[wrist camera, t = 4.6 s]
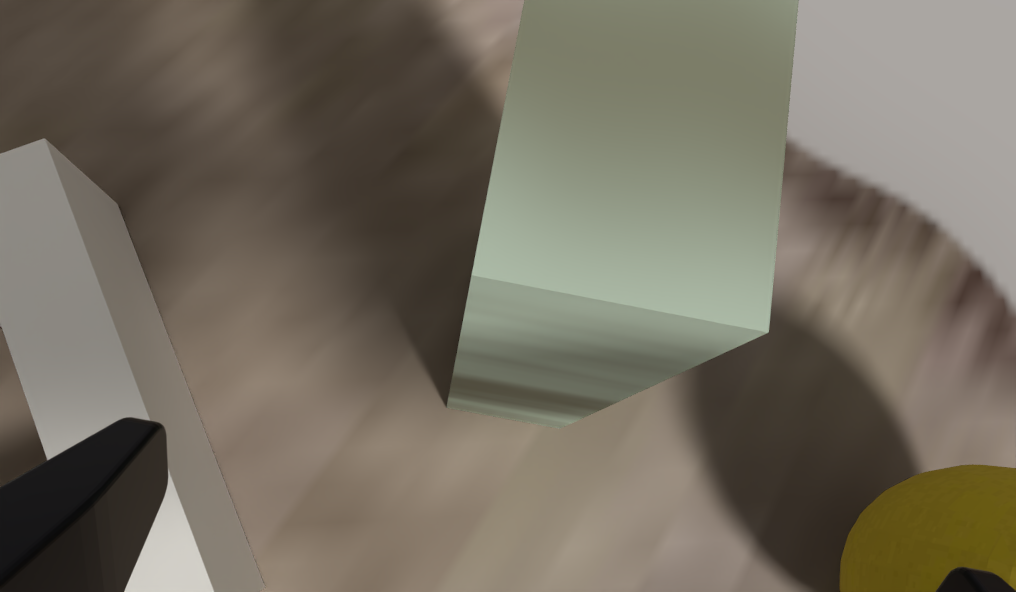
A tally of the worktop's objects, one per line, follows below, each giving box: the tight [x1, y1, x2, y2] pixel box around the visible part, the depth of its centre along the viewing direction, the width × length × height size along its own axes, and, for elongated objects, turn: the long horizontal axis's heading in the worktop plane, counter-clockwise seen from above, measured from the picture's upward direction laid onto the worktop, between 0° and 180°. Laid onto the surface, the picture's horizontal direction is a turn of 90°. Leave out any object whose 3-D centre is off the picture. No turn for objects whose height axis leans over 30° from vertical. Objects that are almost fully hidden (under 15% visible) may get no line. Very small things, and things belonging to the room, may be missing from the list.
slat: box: [447, 0, 799, 428], centre depth 15 cm, size 5×3×13 cm, turn 170°
